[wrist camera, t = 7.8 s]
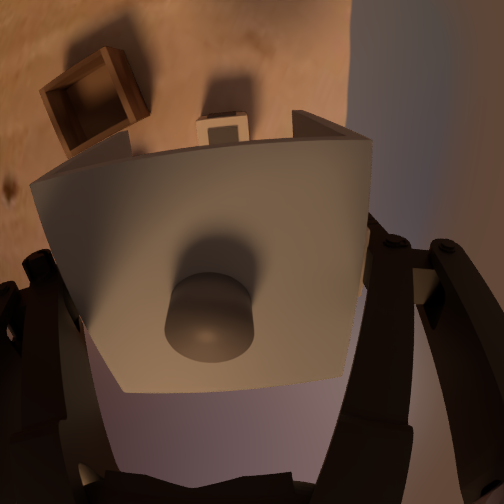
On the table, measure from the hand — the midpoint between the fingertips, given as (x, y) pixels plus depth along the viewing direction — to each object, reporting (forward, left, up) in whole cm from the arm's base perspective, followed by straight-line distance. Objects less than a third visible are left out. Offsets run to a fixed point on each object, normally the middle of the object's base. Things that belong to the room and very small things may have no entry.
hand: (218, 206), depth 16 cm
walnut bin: (-10, -10, -17) cm, 22 cm away
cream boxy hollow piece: (-1, 0, -17) cm, 17 cm away
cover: (0, 0, 0) cm, 0 cm away
